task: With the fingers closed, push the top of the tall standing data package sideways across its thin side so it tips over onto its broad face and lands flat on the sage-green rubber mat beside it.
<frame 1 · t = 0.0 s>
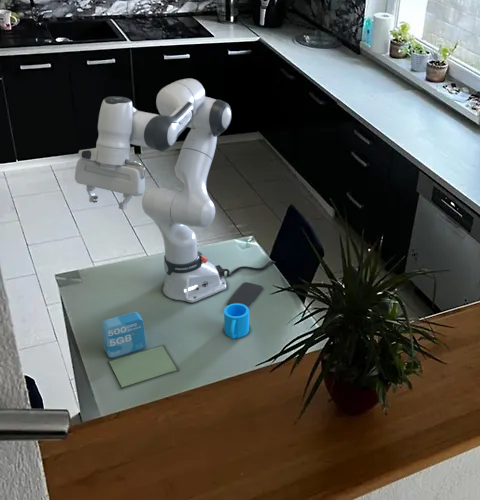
hand: (107, 205, 194), 52 cm above the table, tool tilted 20°, fingers open, 8 cm apart
mug: (235, 334, 232), on the table
mat: (143, 366, 215), on the table
data package: (125, 350, 221), on the table
phone: (245, 296, 251), on the table
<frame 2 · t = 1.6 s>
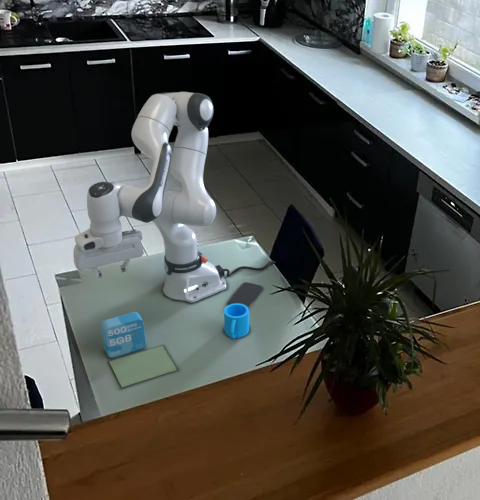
hand: (111, 274, 214), 24 cm above the table, tool pointing down, fingers open, 6 cm apart
nothing on the table moved.
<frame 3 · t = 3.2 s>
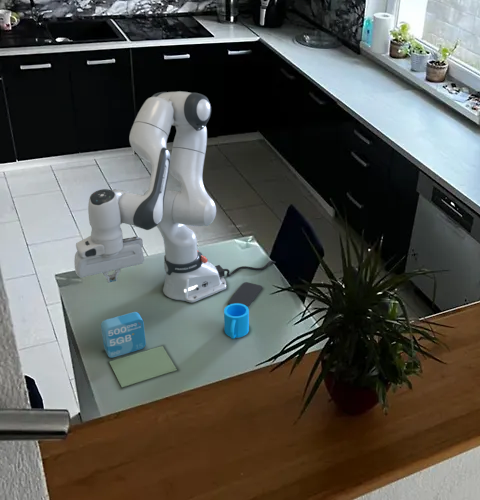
hand: (112, 280, 215), 22 cm above the table, tool pointing down, fingers closed
nothing on the table moved.
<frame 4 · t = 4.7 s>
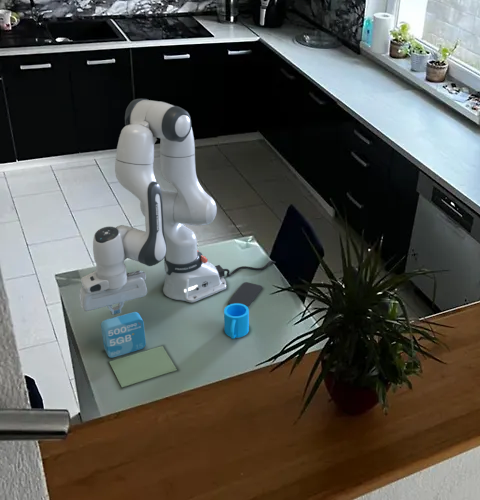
hand: (116, 313, 222), 9 cm above the table, tool pointing down, fingers closed
nothing on the table moved.
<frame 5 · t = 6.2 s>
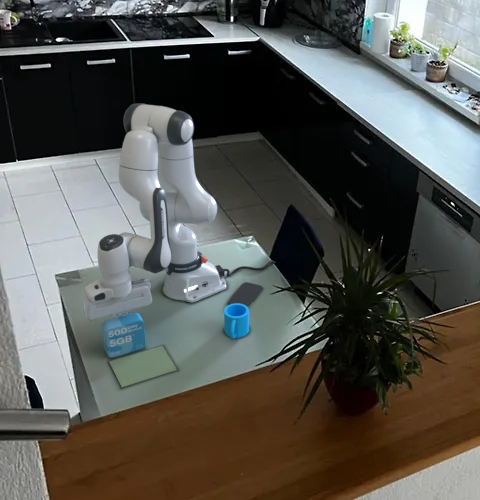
hand: (120, 321, 218), 9 cm above the table, tool pointing down, fingers closed
nothing on the table moved.
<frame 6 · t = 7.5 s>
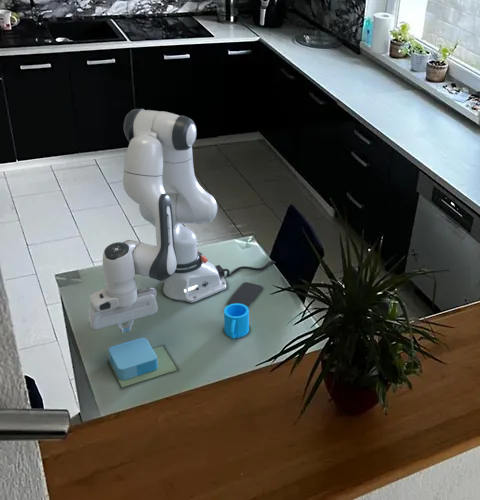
hand: (125, 331, 215), 9 cm above the table, tool pointing down, fingers closed
data package: (126, 347, 218), point 3 cm above the table, touching mat
everything else where it was.
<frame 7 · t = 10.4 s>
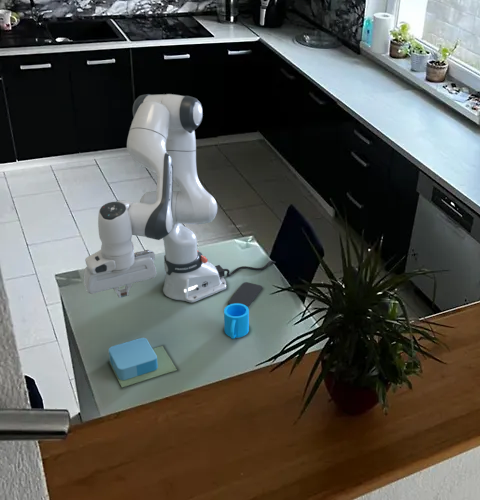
hand: (123, 295, 206), 24 cm above the table, tool pointing down, fingers closed
nothing on the table moved.
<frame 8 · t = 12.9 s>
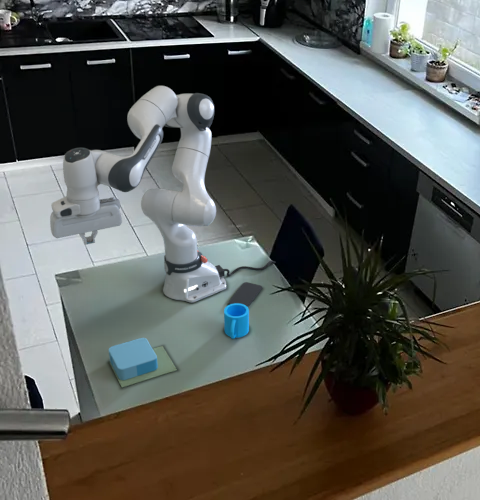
hand: (89, 242, 212), 33 cm above the table, tool pointing down, fingers closed
nothing on the table moved.
at the end: data package tilted 90°; data package touching mat; the gripper is holding nothing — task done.
